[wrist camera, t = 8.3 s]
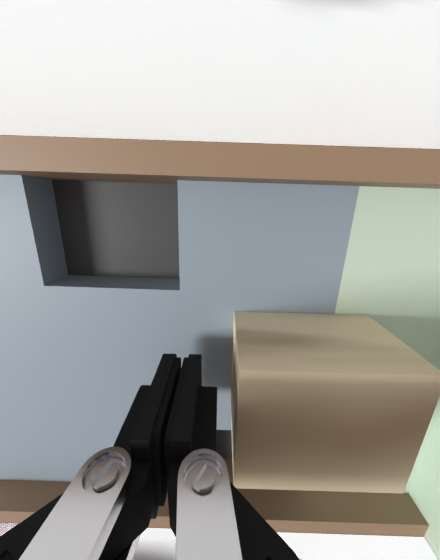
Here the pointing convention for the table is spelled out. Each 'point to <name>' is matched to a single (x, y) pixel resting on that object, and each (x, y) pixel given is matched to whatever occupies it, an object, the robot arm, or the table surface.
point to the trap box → (201, 294)
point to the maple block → (326, 403)
